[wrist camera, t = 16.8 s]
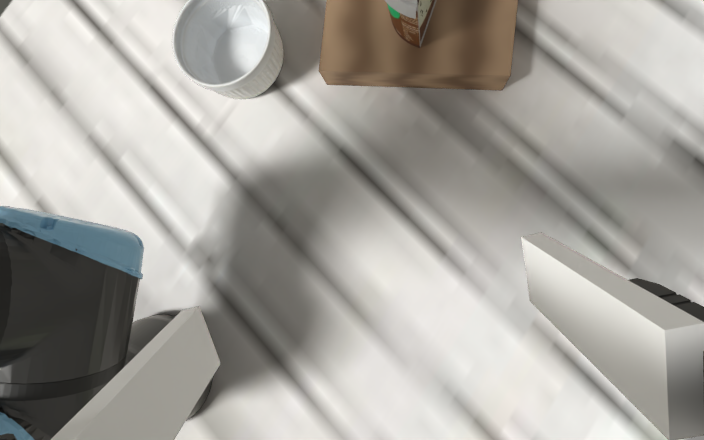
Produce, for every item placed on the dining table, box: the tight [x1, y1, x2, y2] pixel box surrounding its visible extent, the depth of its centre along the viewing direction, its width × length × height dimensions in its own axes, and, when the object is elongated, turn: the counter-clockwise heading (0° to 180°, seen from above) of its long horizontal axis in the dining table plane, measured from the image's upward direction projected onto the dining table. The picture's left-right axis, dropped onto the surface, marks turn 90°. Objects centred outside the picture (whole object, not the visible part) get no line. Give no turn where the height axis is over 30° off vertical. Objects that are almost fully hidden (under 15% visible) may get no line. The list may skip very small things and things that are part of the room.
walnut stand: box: [319, 0, 518, 90], centre depth 43 cm, size 22×18×4 cm
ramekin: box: [172, 0, 284, 99], centre depth 46 cm, size 13×13×7 cm
